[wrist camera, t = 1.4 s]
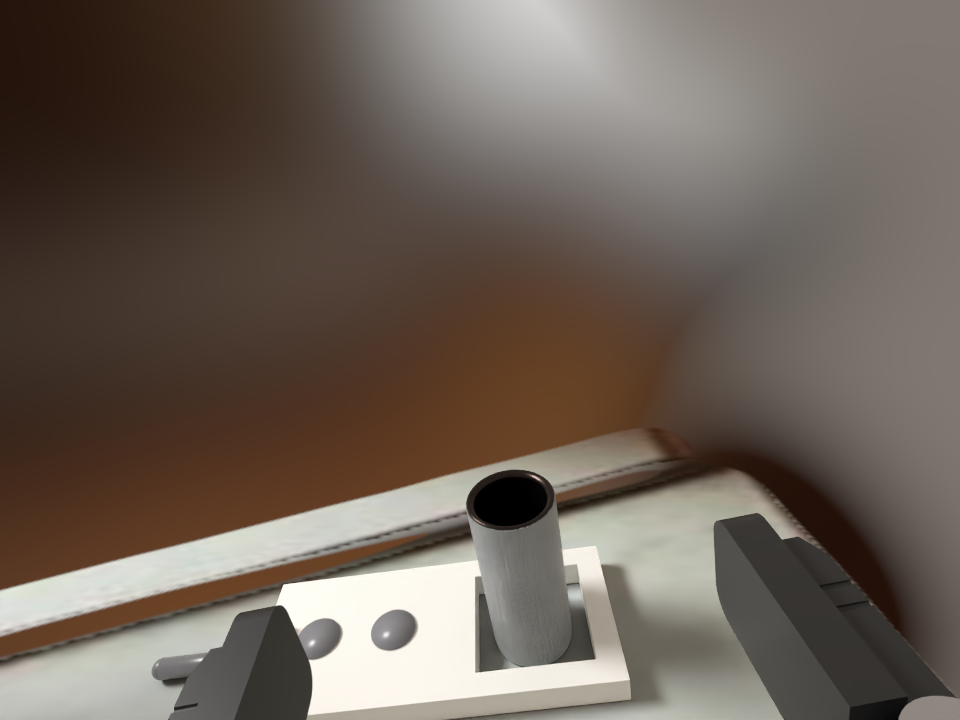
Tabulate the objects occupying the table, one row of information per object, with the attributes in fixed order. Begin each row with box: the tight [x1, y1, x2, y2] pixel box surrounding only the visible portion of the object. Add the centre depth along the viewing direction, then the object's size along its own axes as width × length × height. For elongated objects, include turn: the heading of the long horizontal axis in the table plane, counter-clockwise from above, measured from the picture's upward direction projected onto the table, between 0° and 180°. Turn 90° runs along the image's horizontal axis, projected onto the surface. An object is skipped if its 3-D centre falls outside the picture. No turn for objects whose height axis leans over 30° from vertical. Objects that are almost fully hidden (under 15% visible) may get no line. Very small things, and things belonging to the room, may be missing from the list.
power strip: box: [152, 546, 631, 720], centre depth 34 cm, size 28×9×2 cm, turn 90°
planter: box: [466, 470, 572, 667], centre depth 31 cm, size 4×4×10 cm
